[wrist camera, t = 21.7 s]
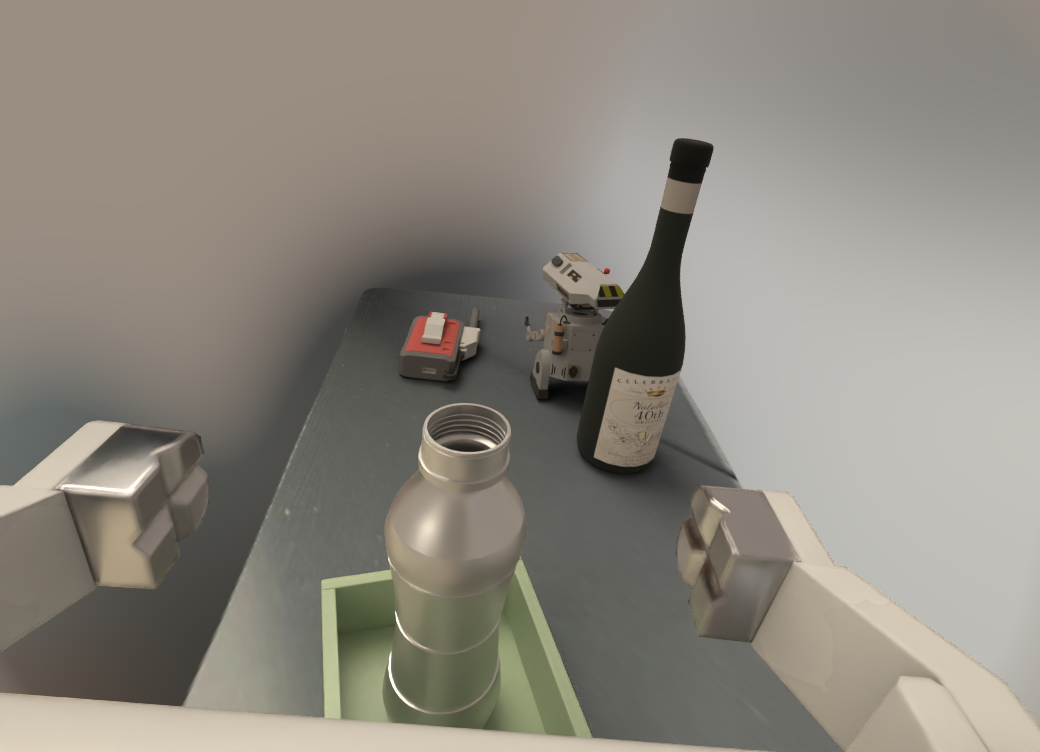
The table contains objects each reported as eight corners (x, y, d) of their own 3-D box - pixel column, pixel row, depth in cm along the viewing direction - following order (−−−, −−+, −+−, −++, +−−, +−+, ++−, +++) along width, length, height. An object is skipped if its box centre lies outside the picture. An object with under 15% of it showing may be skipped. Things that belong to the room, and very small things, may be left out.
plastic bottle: (517, 693, 35) (574, 421, 25) (448, 798, 30) (486, 506, 20) (432, 637, 37) (454, 369, 28) (356, 724, 32) (349, 432, 22)
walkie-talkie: (471, 391, 66) (482, 319, 83) (474, 357, 64) (485, 290, 81) (393, 382, 65) (422, 312, 83) (394, 347, 63) (423, 283, 80)
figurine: (585, 360, 76) (608, 250, 69) (614, 408, 66) (644, 286, 59) (518, 359, 74) (534, 245, 67) (537, 408, 64) (559, 282, 57)
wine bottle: (667, 473, 57) (771, 155, 42) (596, 483, 54) (680, 146, 39) (628, 427, 63) (706, 136, 49) (562, 433, 61) (624, 127, 46)
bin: (582, 814, 30) (602, 760, 28) (331, 894, 26) (327, 840, 24) (509, 602, 41) (518, 549, 39) (324, 635, 37) (321, 579, 35)
